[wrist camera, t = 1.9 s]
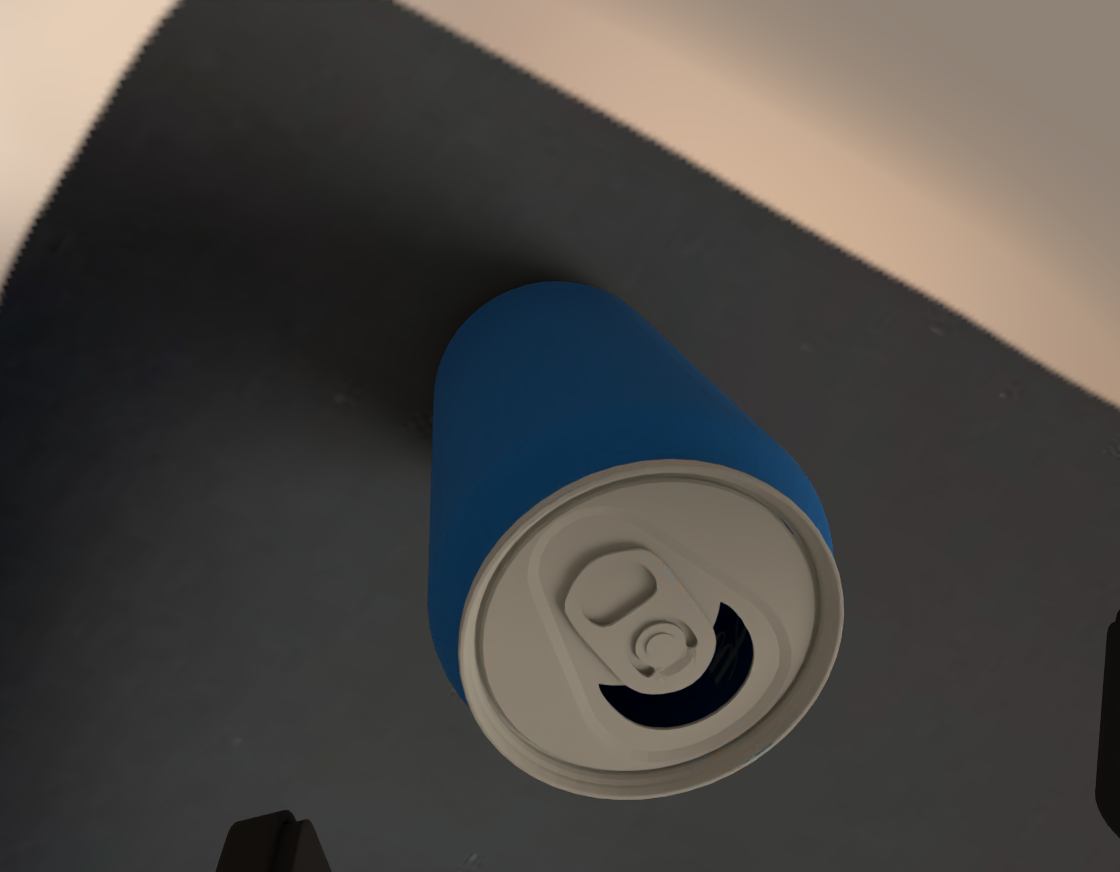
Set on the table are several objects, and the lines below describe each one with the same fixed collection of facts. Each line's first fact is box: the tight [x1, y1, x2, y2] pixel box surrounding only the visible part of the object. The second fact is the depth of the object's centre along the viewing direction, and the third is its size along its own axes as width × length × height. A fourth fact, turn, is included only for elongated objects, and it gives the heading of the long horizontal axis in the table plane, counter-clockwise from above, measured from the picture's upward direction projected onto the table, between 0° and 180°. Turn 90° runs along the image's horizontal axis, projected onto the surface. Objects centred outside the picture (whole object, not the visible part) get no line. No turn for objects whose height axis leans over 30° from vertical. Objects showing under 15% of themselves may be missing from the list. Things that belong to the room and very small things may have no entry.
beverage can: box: [428, 281, 844, 800], centre depth 17 cm, size 6×6×12 cm
